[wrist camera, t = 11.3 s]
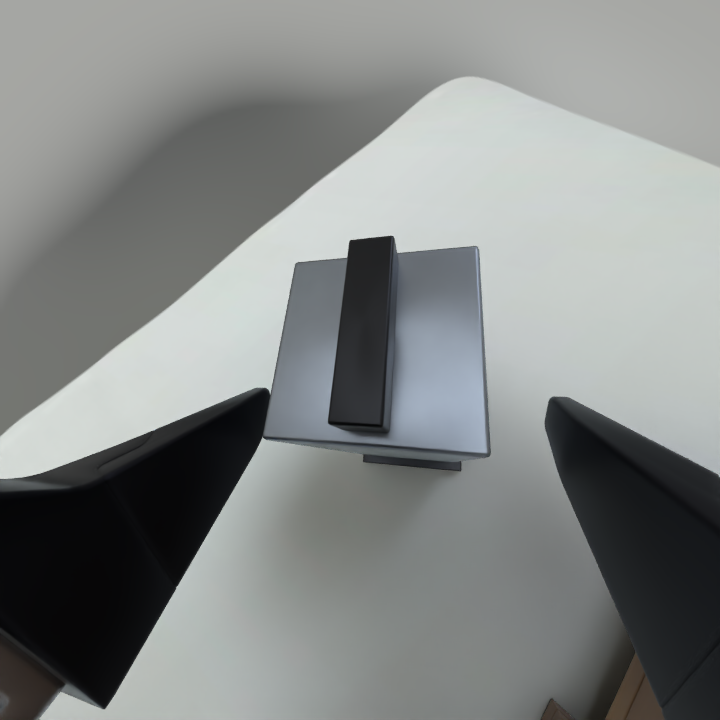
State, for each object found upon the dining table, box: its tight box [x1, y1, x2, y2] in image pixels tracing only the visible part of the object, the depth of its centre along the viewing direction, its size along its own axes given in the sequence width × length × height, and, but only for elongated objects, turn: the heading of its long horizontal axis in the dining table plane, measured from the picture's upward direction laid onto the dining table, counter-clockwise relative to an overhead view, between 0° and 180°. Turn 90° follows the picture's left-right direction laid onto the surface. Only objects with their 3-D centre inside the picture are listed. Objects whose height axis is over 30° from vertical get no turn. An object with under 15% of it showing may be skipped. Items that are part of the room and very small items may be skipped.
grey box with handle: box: [263, 236, 491, 471], centre depth 11 cm, size 5×5×13 cm
